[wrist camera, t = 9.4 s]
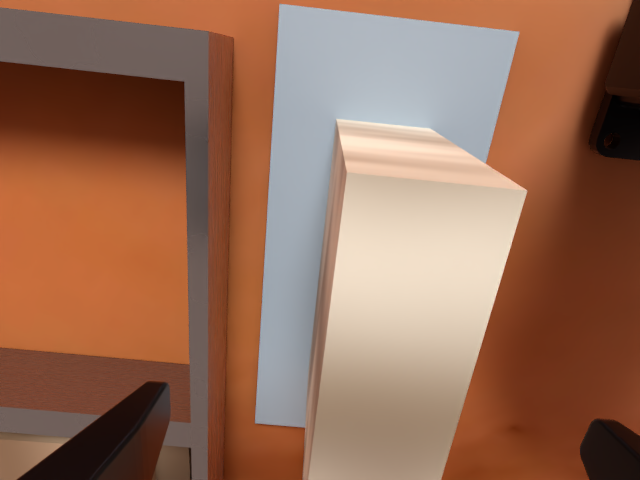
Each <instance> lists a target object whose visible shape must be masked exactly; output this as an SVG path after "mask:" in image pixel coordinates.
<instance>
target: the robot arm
mask: <svg viewBox="0 0 640 480" xmlns="http://www.w3.org/2000/svg"><path fill="white" fill-rule="evenodd" d="M605 87H606V91H605V94H604V97H603V100H602V103H601V106H600V109H599V112H598V115H597V117H596V120H595V123H594V126H593V129H592V132H591V135H590V138H589V146H590V149H591V150H592V151H593V152H594V153H597V154H599V155H602V156H605V157H612V158H622V159H631V160H640V0H633V3H632V6H631V9H630V12H629V15H628V17H627V20H626V23H625V26H624V29H623V32H622V35H621V38H620V41H619V44H618V47H617V50H616V53H615V55H614V58H613V61H612V64H611V67H610V70H609V73H608V76H607V79H606V82H605ZM611 133H612V135H613V139H612V141H611V143H610V144H609V145H607V146H604V140H605V138H606V137H607V136H608V135H609V134H611ZM170 416H171V404H170V386H169V383H167V382H165V381H154V380H150V381H147V382H145V383H144V384H143V385H141V386H140V387H139V388H137V389H136V390H135V391H133V392H132V393H131V394H129V395H128V396H127V397H125V398H124V399H123V400H121V401H120V402H119V403H117V404H116V405H115V406H113V407H112V408H111V409H109V410H108V411H107V412H105V413H104V414H103V415H101V416H100V417H99V418H97V419H96V420H95V421H93V422H92V423H91V424H89V425H88V426H87V427H85V428H84V429H83V430H82V431H80V432H79V433H78V434H76V435H75V436H74V437H72V438H71V439H70V440H68V441H67V442H66V443H64V444H63V445H62V446H60V447H59V448H58V449H56V450H55V451H54V452H52V453H51V454H50V455H48V456H47V457H46V458H44V459H43V460H42V461H40V462H39V463H38V464H36V465H35V466H34V467H32V468H31V469H30V470H28V471H27V472H26V473H24V474H23V475H22V476H20V477H19V478H18V479H16V480H152V478H153V474H154V471H155V468H156V465H157V461H158V458H159V455H160V452H161V448H162V445H163V442H164V439H165V435H166V432H167V429H168V426H169V422H170ZM580 455H581V459H582V462H583V464H584V467H585V469H586V472H587V475H588V477H589V480H640V436H639V435H637V434H636V433H634V432H633V431H631V430H630V429H628V428H627V427H625V426H624V425H622V424H621V423H619V422H618V421H615V420H610V419H594V420H593V421H592V422H591V424H590V426H589V428H588V430H587V432H586V435H585V437H584V439H583V441H582V443H581V446H580Z"/></svg>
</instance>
